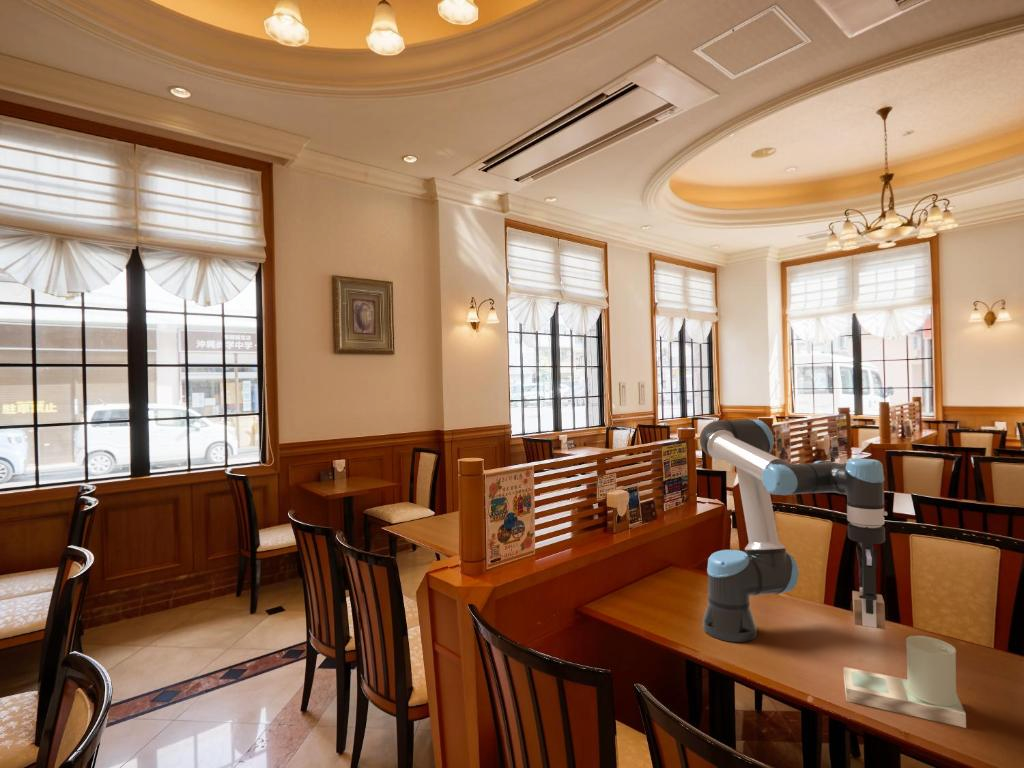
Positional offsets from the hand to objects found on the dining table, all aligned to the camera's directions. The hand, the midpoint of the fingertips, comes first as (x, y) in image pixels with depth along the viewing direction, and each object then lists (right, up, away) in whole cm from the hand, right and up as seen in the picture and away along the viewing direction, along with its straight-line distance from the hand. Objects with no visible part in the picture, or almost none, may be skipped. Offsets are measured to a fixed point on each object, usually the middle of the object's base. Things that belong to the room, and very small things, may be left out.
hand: (868, 620), depth 130 cm
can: (+11, -15, -6) cm, 19 cm away
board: (+6, -18, -3) cm, 19 cm away
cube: (0, 0, 0) cm, 0 cm away
